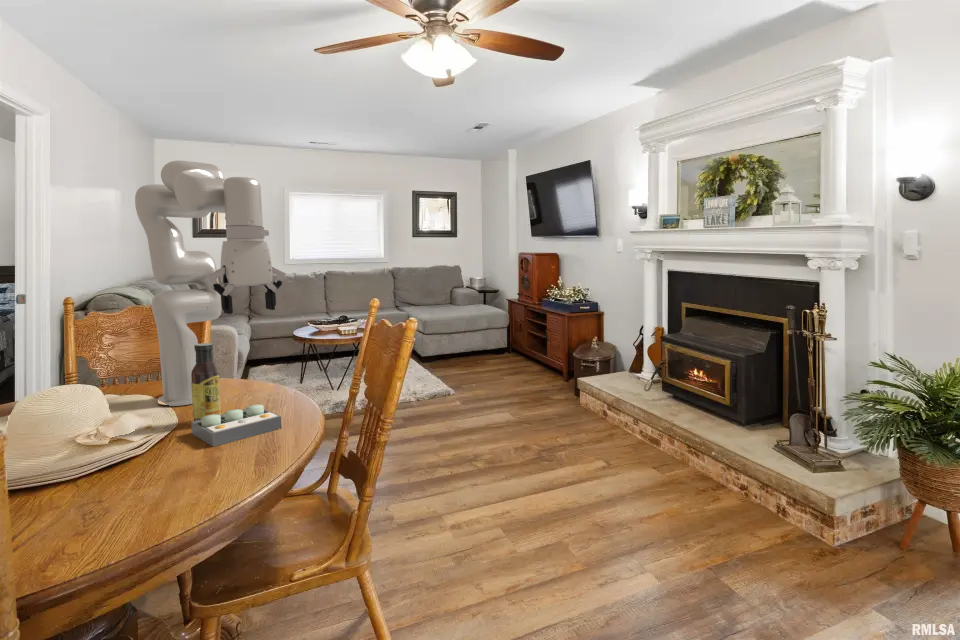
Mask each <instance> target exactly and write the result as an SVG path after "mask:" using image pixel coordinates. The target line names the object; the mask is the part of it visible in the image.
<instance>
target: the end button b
mask: <svg viewBox="0 0 960 640" xmlns="http://www.w3.org/2000/svg"><path fill="white" fill-rule="evenodd" d="M245 409H246V415H247V416H249V417H252V416H256V415H260V414H264V409H265V407H264V405H263V404H253V405H252V404H251V405H248V406H246V407H245Z"/></svg>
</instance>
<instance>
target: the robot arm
mask: <svg viewBox="0 0 960 640" xmlns="http://www.w3.org/2000/svg"><path fill="white" fill-rule="evenodd" d="M160 180H161V182H162V183H163V184H146V185H142V186H140V187H139V188H138V189H136V190H137V191H135V194H134V196H135V197H134V205H135V206H134V207H135V210H136V211H135V212H136V215H137V217H138V220H139V222H140V224H141V226H142V228H143V230H144V233H145V235H146V238H147V244H148V245H147V246H148V251H149V256H150V257H149V258H150V264H151V269H152V274H153V278H154V280H155V281H156V283H158V284H159V285H163V286H183V285H184V286H187V285H196V287H197V288H188V289H187V288H183V289H169V290H164V291H160V292H158V293H156V294H155V295H154V296H153V298H152V300H151V303H150V304H151V310H152V314H153V318H154V322H155V326H156V330H157V331H156V333H157V339H158V351H159V359H160V360H159V361H160V370H161V371H160V372H161V383H162V395H161V396H159V397H158V398H157V400H159V401H161V402H163V403H165V404H167V405H169V406H168V407H180V406H188V405H189V406H190V405H192V386H191V382H192V377H191V373H192V370H193V368H194V366H195V364H196V351H195V348H194V347H195V344H199V341H198V338H197V336H196V334H195V332H194V331H193V330H192V329H190V327H188V324H192V323H200V322H208V321H214V320H217V319H218V318H219V317H220V316H221V315H222V311H223V313H224V314H228V315H232V314H233V312H234V309H233V297H232V295H231V294H230V293H231V292H232V291H233V290H234V288H235V287H251V286H253V287H255V286H262V287H263V288H264V289H265V290H266V292H264V298H265V301H264V302H265V309H266V310H270V311H275V310H276V308H275V307H276V306H277V300H276V293H278V290H279V288H280V287H281V286H282V285H283V281H284V280H285V277H286V273H285V272H284V271H282V270H279V269H278V268H275V267H273V266H272V260H271V259H272V258H271V253H270V248H269V245H268V243H267V241H265V237H269V236H270V232H269V230H267V229H265V228H264V227H265V226H264V223H263V204H262V202H263V201H262V189H261V183H260V181H258V180H257V179H255V178H254V177H253V178H252V177H248V176H247V177H246V176H244V177H243V176H232V177H227V178H225V175H224V173H223V172H222V170H221V169H220V168H219V167H218V166H216V165H214V164H212V163H205V162H196V161H188V160H172V161H169V162H167V163H166V164H164V165H163V167H161V171H160ZM210 213H215V214H216V213H218V214H224V215H225V216H224V217H225V230H226V231H225V234H226V240H223V241H222V245H221V252H220V268H218V269H217V264H216V262H215V259H214V258H213V256H212V255H211V254H210V253H208V252H205V251H202V250H201V251H200V250H186V248H185V245H184V236H183V234H182V232H181V230H180V229H179V228H178V227H177V226H176V224H174V223H173V222H172V220H171V219H169V218H185V219H188V218H189V219H201V218H205V217H207V216H208V215H209V214H210ZM273 275H274V276H276V278H275V280H274V281H273ZM219 278H220V282H221V284H222V285H221V284H220V283H219ZM157 400H156V401H157Z"/></svg>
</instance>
